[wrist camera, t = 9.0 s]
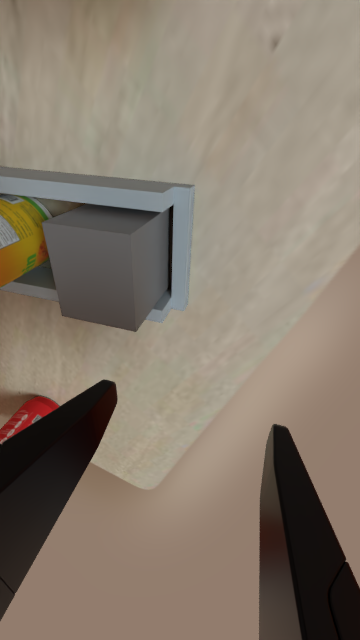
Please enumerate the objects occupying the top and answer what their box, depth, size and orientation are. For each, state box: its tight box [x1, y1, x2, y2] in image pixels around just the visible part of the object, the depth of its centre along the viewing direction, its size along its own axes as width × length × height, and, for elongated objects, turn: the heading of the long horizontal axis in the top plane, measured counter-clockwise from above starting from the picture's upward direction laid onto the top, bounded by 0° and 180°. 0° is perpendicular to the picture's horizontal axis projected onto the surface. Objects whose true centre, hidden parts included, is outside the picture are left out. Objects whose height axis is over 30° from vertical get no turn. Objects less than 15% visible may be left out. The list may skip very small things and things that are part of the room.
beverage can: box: [0, 396, 60, 444], centre depth 33 cm, size 5×5×12 cm
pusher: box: [42, 203, 170, 332], centre depth 19 cm, size 5×6×6 cm
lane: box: [0, 167, 195, 323], centre depth 22 cm, size 26×8×5 cm, turn 88°
